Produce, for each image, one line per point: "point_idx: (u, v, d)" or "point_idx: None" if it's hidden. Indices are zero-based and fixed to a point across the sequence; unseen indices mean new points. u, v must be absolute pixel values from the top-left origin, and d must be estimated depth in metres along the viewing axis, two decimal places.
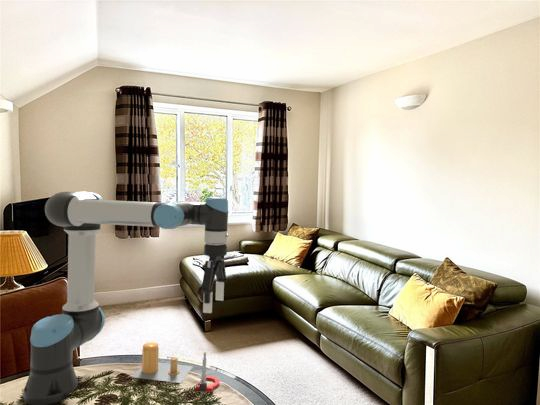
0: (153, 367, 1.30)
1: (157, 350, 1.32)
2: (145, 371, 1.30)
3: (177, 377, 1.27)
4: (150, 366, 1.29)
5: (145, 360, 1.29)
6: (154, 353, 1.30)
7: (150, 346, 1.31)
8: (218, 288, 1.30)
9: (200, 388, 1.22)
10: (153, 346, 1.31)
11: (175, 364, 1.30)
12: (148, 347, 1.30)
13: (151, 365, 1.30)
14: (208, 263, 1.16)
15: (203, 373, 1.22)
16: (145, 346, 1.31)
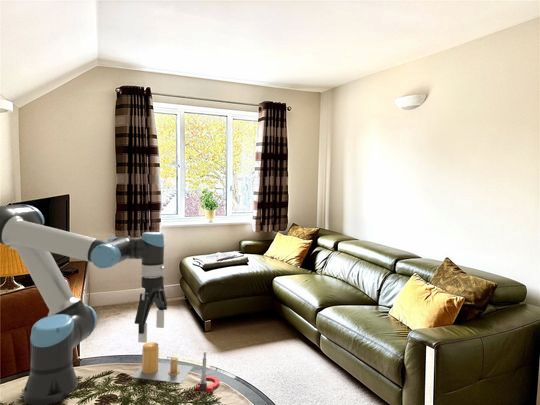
0: (153, 367, 1.30)
1: (157, 350, 1.32)
2: (145, 371, 1.30)
3: (177, 377, 1.27)
4: (150, 366, 1.29)
5: (145, 360, 1.29)
6: (154, 353, 1.30)
7: (150, 346, 1.31)
8: (158, 316, 1.38)
9: (200, 388, 1.22)
10: (153, 346, 1.31)
11: (175, 364, 1.30)
12: (148, 347, 1.30)
13: (151, 365, 1.30)
14: (143, 296, 1.24)
15: (203, 373, 1.22)
16: (145, 346, 1.31)
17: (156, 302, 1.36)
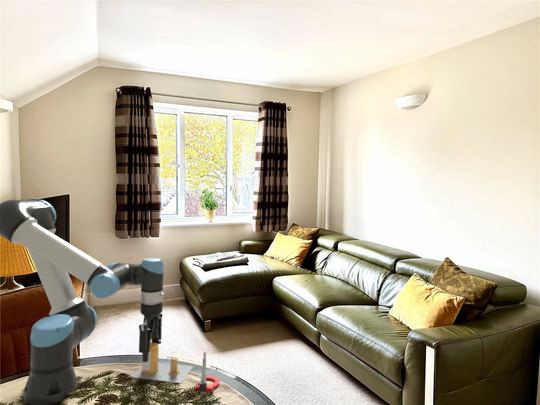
0: (153, 367, 1.30)
1: (157, 350, 1.32)
2: (145, 371, 1.30)
3: (177, 377, 1.27)
4: (150, 366, 1.30)
5: None
6: (154, 353, 1.30)
7: (150, 346, 1.31)
8: None
9: (200, 388, 1.22)
10: (153, 346, 1.31)
11: (175, 364, 1.30)
12: None
13: (151, 365, 1.30)
14: (142, 328, 1.25)
15: (203, 373, 1.22)
16: None
17: (152, 332, 1.34)
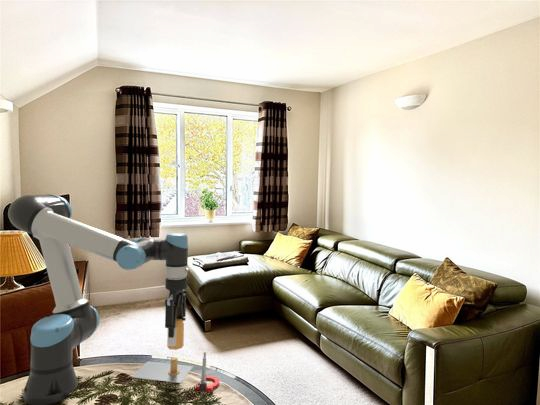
0: (179, 343, 1.29)
1: (182, 326, 1.30)
2: (171, 347, 1.28)
3: (177, 377, 1.27)
4: (176, 342, 1.28)
5: None
6: (180, 329, 1.28)
7: (176, 322, 1.29)
8: None
9: (200, 388, 1.22)
10: (178, 322, 1.29)
11: (175, 364, 1.30)
12: None
13: (176, 341, 1.28)
14: (168, 303, 1.23)
15: (203, 373, 1.22)
16: None
17: (177, 308, 1.32)
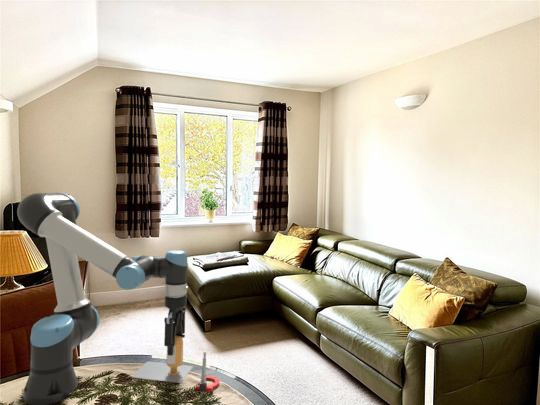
0: (178, 361, 1.29)
1: (182, 343, 1.30)
2: (170, 365, 1.28)
3: (177, 377, 1.27)
4: (175, 360, 1.28)
5: None
6: (179, 346, 1.29)
7: (175, 340, 1.29)
8: None
9: (200, 388, 1.22)
10: (178, 339, 1.29)
11: None
12: None
13: (176, 359, 1.28)
14: (167, 321, 1.24)
15: (203, 373, 1.22)
16: None
17: None
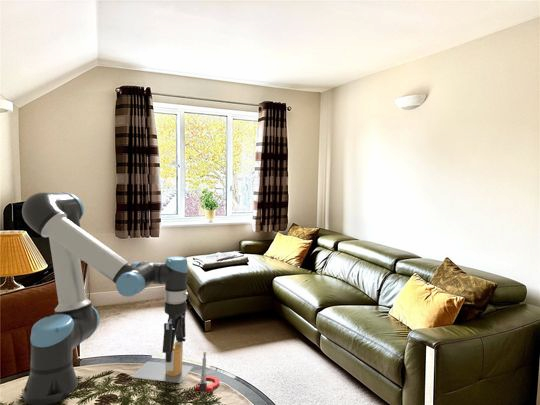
0: (177, 369, 1.29)
1: (181, 352, 1.30)
2: (169, 373, 1.28)
3: (177, 377, 1.27)
4: (174, 369, 1.28)
5: None
6: (178, 355, 1.29)
7: (174, 348, 1.29)
8: None
9: (200, 388, 1.22)
10: (177, 348, 1.30)
11: None
12: None
13: (175, 368, 1.28)
14: (167, 326, 1.24)
15: (203, 373, 1.22)
16: None
17: (176, 330, 1.33)
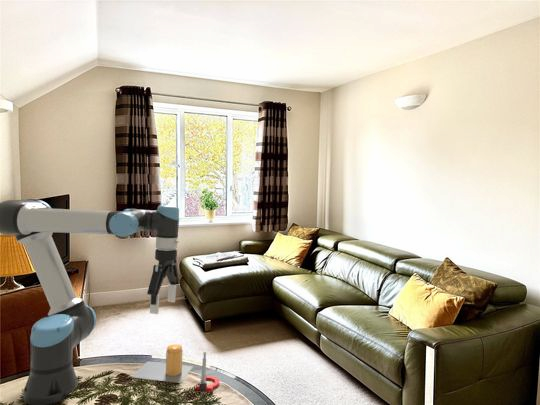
0: (177, 369, 1.29)
1: (181, 352, 1.30)
2: (169, 373, 1.28)
3: (177, 377, 1.27)
4: (174, 369, 1.28)
5: (169, 362, 1.28)
6: (178, 355, 1.29)
7: (174, 348, 1.29)
8: (170, 290, 1.38)
9: (200, 388, 1.22)
10: (177, 348, 1.30)
11: None
12: (172, 349, 1.29)
13: (175, 368, 1.28)
14: (156, 268, 1.25)
15: (203, 373, 1.22)
16: (169, 348, 1.29)
17: (168, 276, 1.36)
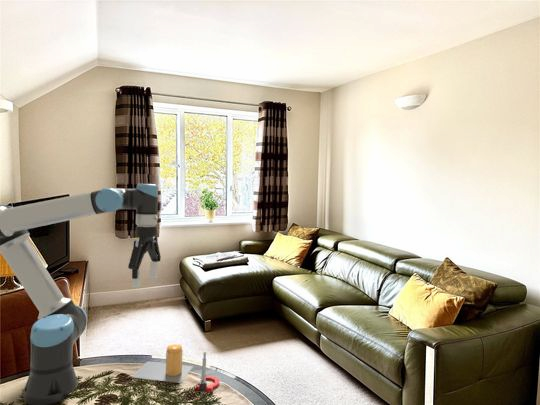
0: (177, 369, 1.29)
1: (181, 352, 1.30)
2: (169, 373, 1.28)
3: (177, 377, 1.27)
4: (174, 369, 1.28)
5: (169, 362, 1.28)
6: (178, 355, 1.29)
7: (174, 348, 1.29)
8: (152, 267, 1.43)
9: (200, 388, 1.22)
10: (177, 348, 1.30)
11: None
12: (172, 349, 1.29)
13: (175, 368, 1.28)
14: (136, 243, 1.29)
15: (203, 373, 1.22)
16: (169, 348, 1.29)
17: (150, 253, 1.40)
